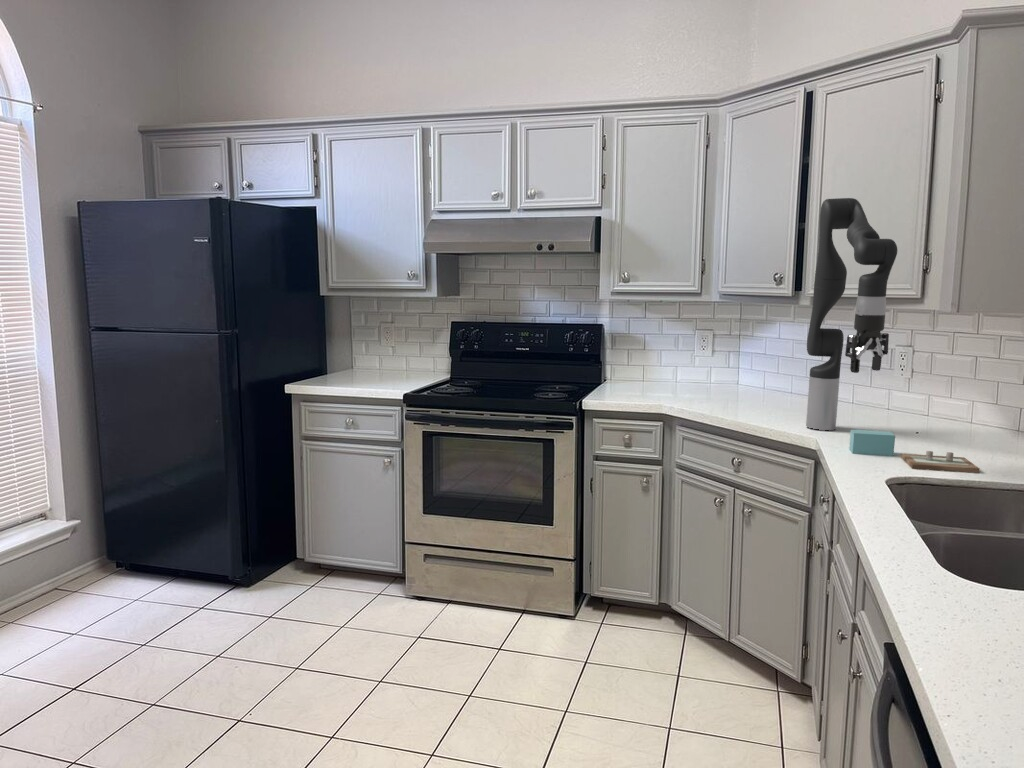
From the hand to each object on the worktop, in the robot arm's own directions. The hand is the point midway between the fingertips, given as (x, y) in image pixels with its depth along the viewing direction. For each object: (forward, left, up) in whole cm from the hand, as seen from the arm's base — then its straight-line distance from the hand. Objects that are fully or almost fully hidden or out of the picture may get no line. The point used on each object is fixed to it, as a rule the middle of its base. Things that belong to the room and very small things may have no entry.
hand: (865, 371), depth 210 cm
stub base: (+4, +20, -24) cm, 32 cm away
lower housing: (-6, +5, -24) cm, 26 cm away
